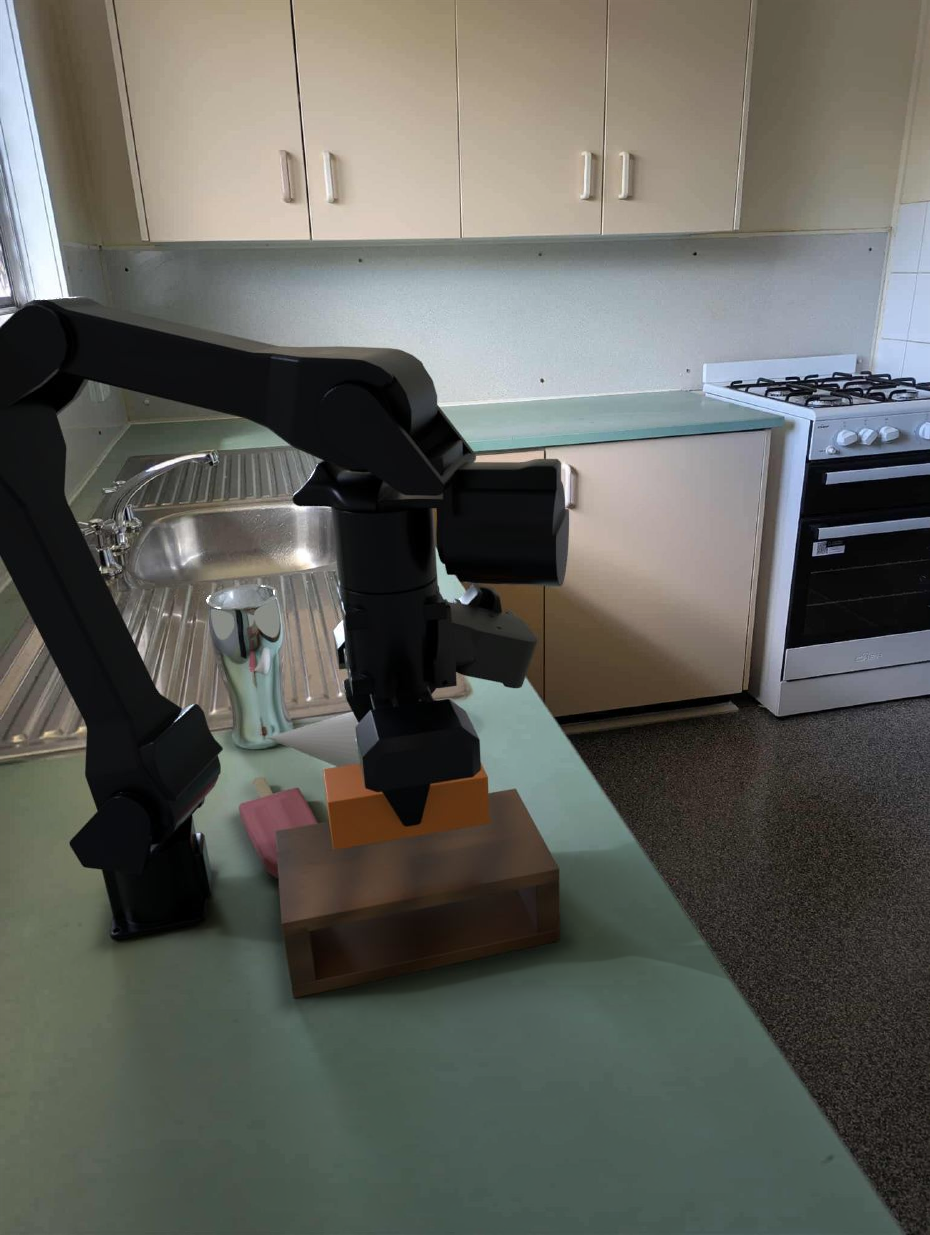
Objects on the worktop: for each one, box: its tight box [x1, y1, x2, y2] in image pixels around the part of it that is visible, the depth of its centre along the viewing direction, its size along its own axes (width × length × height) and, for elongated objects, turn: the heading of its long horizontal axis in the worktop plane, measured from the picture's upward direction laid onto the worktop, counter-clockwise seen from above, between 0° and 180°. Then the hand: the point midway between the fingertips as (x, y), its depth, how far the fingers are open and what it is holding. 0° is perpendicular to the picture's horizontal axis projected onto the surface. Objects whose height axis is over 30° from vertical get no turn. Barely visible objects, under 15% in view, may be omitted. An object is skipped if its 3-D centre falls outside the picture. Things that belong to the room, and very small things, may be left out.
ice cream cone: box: [267, 711, 360, 767], centre depth 80 cm, size 6×6×15 cm
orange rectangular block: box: [322, 763, 490, 850], centre depth 56 cm, size 10×4×4 cm, turn 103°
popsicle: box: [238, 776, 319, 880], centre depth 73 cm, size 5×2×15 cm
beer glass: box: [206, 583, 295, 750], centre depth 86 cm, size 7×7×15 cm
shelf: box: [275, 788, 561, 999], centre depth 61 cm, size 18×10×6 cm, turn 104°
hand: (406, 805), depth 56 cm, fingers closed on orange rectangular block, 4 cm apart
